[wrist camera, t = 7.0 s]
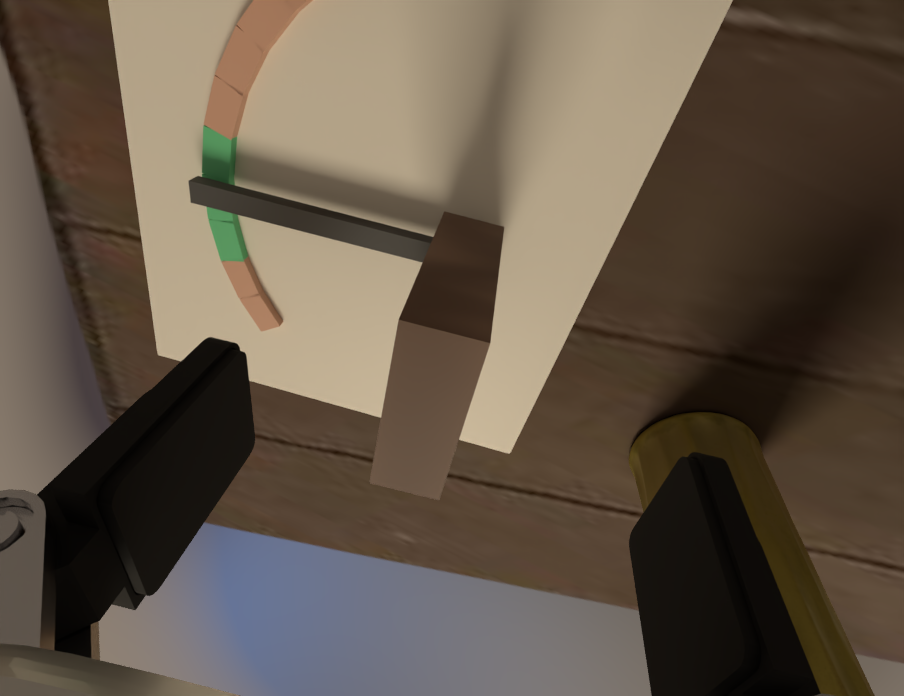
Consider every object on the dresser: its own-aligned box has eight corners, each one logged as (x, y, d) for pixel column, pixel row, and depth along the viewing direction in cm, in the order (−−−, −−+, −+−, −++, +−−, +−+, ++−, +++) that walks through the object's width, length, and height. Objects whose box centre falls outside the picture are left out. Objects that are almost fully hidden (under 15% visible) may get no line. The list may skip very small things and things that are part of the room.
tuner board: (732, -35, 14) (757, -40, 12) (510, 432, 26) (509, 459, 24) (113, -238, 13) (59, -270, 12) (175, 337, 25) (152, 359, 23)
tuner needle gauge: (517, 194, 17) (505, 346, 9) (481, 314, 20) (450, 503, 12) (198, 111, 17) (-75, 198, 9) (210, 244, 19) (11, 393, 12)
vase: (694, 388, 23) (866, 792, 11) (786, 448, 24) (1026, 865, 12) (603, 458, 26) (661, 824, 14) (688, 507, 27) (805, 878, 16)
